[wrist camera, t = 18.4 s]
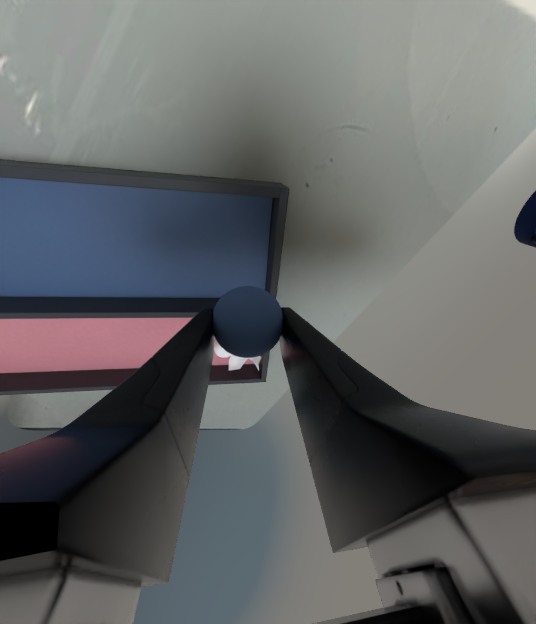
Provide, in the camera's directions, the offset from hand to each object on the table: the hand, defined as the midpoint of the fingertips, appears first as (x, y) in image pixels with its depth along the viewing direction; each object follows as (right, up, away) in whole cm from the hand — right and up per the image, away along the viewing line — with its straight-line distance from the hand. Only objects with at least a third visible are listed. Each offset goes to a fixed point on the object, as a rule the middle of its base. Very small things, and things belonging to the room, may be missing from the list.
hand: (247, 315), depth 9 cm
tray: (-15, +2, +10) cm, 18 cm away
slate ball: (0, 0, 0) cm, 0 cm away
